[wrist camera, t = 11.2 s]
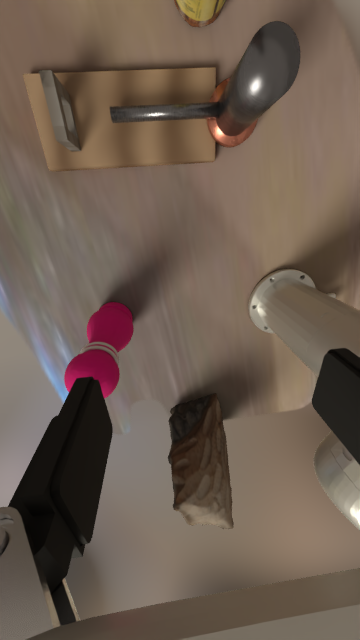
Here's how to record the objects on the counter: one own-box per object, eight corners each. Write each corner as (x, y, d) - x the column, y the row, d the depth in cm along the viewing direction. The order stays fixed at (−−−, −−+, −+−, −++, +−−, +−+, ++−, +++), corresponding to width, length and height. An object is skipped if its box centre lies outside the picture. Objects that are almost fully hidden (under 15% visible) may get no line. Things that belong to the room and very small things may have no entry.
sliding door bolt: (258, 80, 27) (318, 2, 17) (253, 146, 30) (303, 112, 20) (108, 86, 26) (78, 6, 16) (119, 153, 29) (99, 122, 19)
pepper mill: (95, 334, 41) (49, 428, 23) (93, 297, 38) (37, 374, 20) (135, 335, 42) (119, 427, 24) (135, 300, 39) (118, 375, 21)
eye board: (213, 73, 27) (227, 38, 22) (213, 162, 31) (225, 151, 26) (28, 79, 26) (-7, 44, 20) (52, 171, 30) (29, 162, 24)
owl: (217, 429, 56) (246, 530, 39) (168, 435, 56) (174, 541, 38) (218, 392, 51) (252, 491, 33) (164, 399, 50) (168, 503, 32)
